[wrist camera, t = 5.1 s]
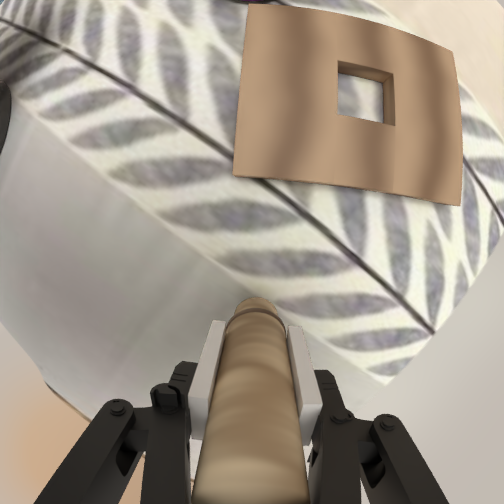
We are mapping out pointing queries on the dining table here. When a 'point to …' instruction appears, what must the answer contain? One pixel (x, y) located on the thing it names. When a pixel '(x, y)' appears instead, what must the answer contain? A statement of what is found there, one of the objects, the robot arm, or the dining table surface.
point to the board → (326, 100)
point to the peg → (253, 418)
